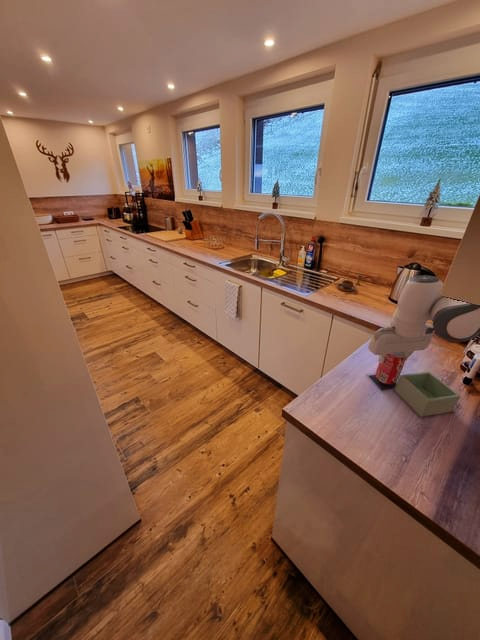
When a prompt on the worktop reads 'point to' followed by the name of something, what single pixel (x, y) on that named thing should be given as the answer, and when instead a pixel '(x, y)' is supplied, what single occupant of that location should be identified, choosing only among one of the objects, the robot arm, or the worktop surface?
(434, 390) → the bin
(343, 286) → the place setting
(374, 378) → the coaster
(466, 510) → the worktop surface
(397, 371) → the soda can
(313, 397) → the worktop surface
